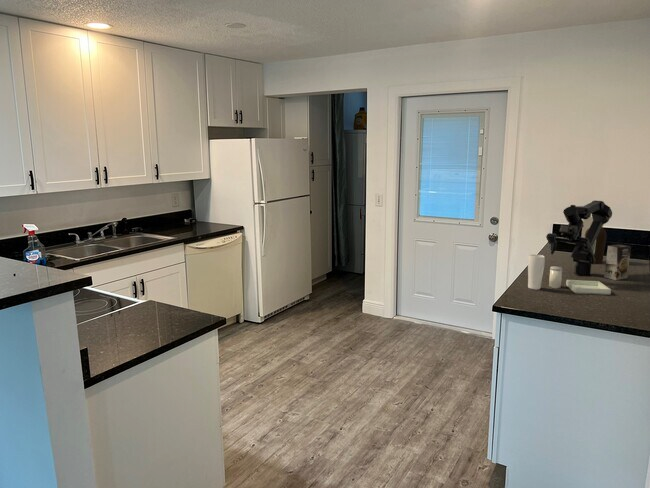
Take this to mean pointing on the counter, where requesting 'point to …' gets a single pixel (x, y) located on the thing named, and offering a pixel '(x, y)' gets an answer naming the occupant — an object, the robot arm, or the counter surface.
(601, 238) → the olive oil
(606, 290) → the tray
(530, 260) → the drinking glass
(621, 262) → the coffee box
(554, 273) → the shaker
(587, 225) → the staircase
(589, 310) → the counter surface
